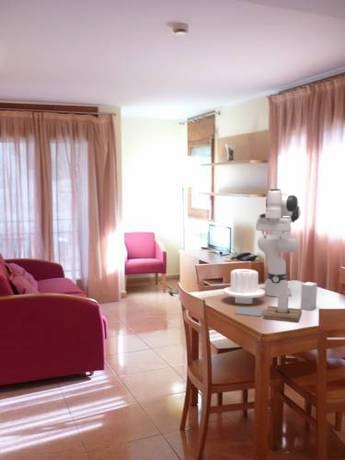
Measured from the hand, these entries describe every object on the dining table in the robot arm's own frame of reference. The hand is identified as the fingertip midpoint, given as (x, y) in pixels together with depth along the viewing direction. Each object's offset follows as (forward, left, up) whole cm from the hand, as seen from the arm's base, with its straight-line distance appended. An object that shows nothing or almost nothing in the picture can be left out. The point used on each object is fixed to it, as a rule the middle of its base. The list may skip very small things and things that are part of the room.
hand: (272, 238), depth 260 cm
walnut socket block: (+26, +10, -39) cm, 48 cm away
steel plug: (+26, +10, -39) cm, 48 cm away
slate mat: (+25, -8, -39) cm, 47 cm away
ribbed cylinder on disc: (+3, -16, -39) cm, 43 cm away
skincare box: (+5, +22, -39) cm, 45 cm away
